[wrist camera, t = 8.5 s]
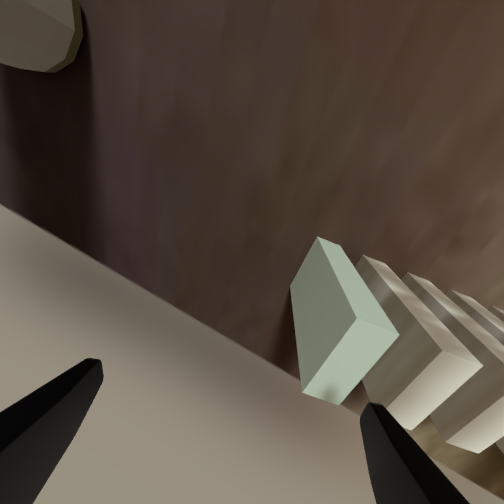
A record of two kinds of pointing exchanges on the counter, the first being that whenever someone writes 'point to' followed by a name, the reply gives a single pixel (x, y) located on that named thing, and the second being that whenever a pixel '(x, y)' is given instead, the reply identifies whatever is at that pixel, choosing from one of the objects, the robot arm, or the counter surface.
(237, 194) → the counter surface
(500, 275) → the counter surface
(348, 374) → the domino
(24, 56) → the bottle
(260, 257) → the counter surface
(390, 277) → the domino
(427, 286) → the domino
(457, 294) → the domino
